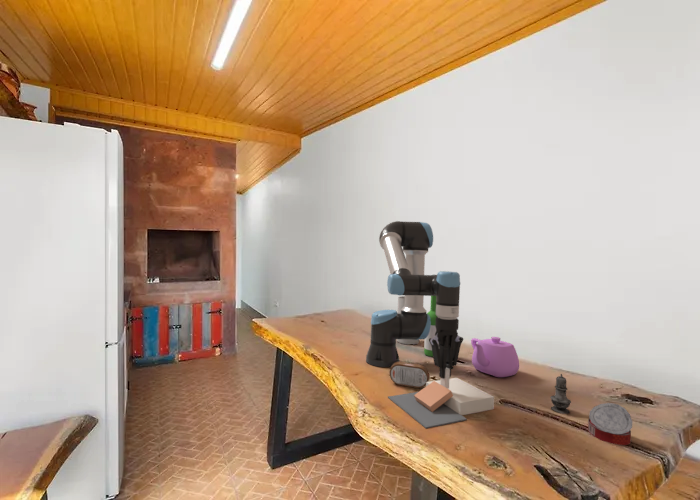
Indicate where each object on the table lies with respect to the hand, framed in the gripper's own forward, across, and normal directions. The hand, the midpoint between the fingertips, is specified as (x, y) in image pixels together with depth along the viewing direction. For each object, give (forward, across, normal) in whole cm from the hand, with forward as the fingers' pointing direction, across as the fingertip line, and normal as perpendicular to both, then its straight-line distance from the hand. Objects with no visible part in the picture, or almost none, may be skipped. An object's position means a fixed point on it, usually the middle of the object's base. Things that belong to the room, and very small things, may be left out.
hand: (444, 387), depth 117 cm
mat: (+5, -9, -1) cm, 10 cm away
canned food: (+6, +32, -33) cm, 46 cm away
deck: (+5, +6, 0) cm, 8 cm away
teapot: (+6, +41, +18) cm, 45 cm away
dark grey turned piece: (+6, +34, -17) cm, 38 cm away
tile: (+3, -4, 0) cm, 5 cm away
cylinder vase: (+6, +32, +72) cm, 79 cm away
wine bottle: (+6, +30, +47) cm, 56 cm away
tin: (+6, -3, +17) cm, 18 cm away
